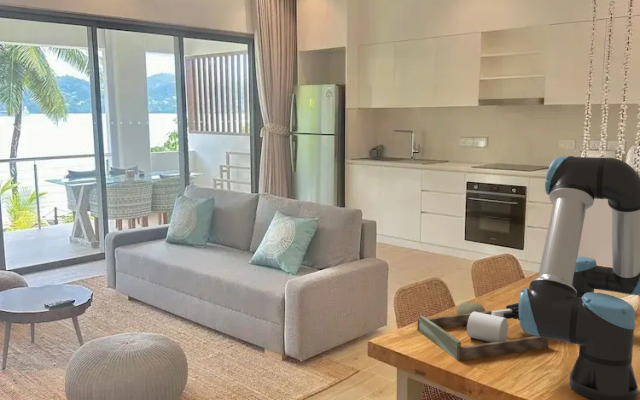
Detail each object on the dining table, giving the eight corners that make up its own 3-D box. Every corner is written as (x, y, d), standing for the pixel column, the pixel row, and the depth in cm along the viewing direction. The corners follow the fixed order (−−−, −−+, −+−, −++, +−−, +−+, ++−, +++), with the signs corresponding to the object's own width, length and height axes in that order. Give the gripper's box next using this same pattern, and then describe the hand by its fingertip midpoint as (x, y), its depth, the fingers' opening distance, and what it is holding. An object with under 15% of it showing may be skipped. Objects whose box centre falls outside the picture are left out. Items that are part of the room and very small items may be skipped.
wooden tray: (497, 319, 188) (498, 305, 187) (548, 347, 165) (549, 331, 164) (417, 330, 179) (417, 315, 178) (458, 361, 156) (459, 343, 155)
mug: (498, 348, 165) (499, 322, 163) (466, 340, 170) (467, 315, 169) (512, 335, 174) (513, 311, 173) (480, 328, 180) (481, 305, 179)
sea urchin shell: (460, 304, 198) (476, 291, 194) (474, 322, 196) (491, 310, 192) (450, 311, 191) (467, 298, 187) (465, 330, 188) (483, 317, 184)
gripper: (569, 326, 175) (505, 334, 168) (541, 312, 187) (480, 320, 180) (571, 302, 174) (506, 310, 167) (542, 290, 186) (481, 297, 179)
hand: (492, 315), depth 173 cm, fingers closed
